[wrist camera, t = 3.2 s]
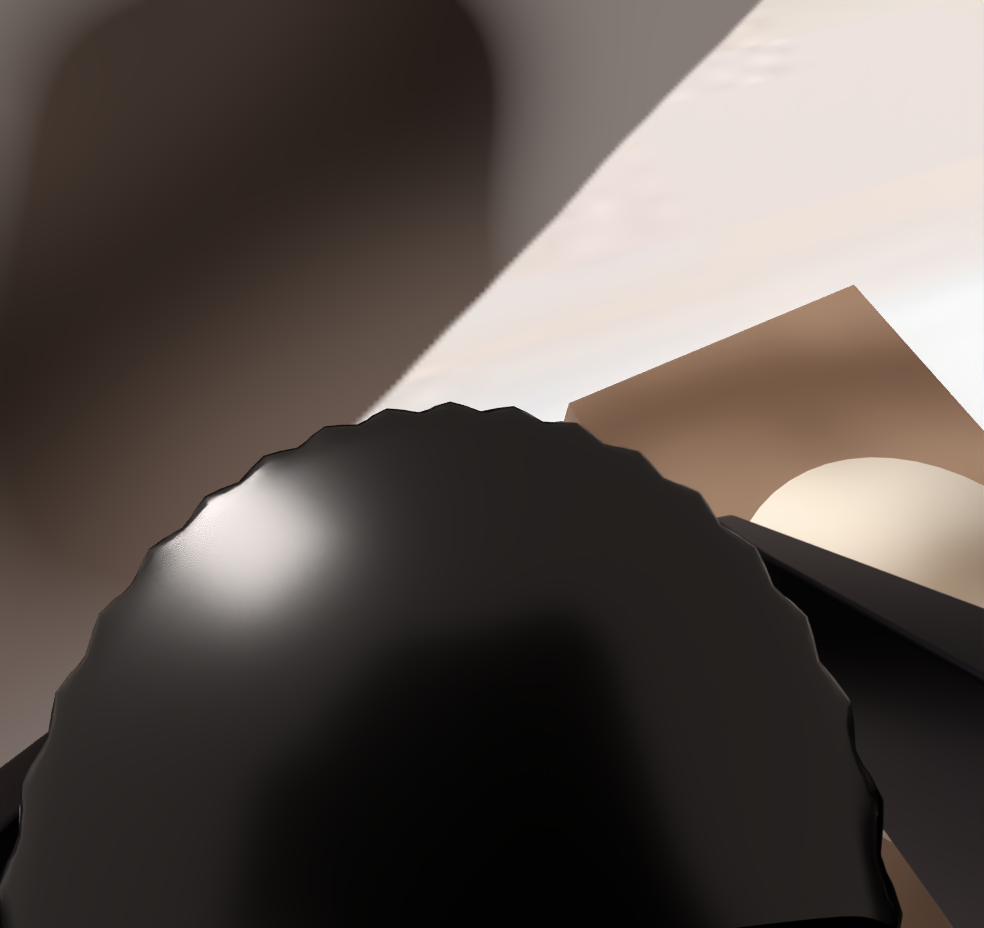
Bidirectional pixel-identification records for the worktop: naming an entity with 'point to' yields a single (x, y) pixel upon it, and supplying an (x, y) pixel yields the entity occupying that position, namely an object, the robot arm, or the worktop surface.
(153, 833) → the supplement bottle
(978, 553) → the walnut plinth
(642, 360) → the worktop surface
